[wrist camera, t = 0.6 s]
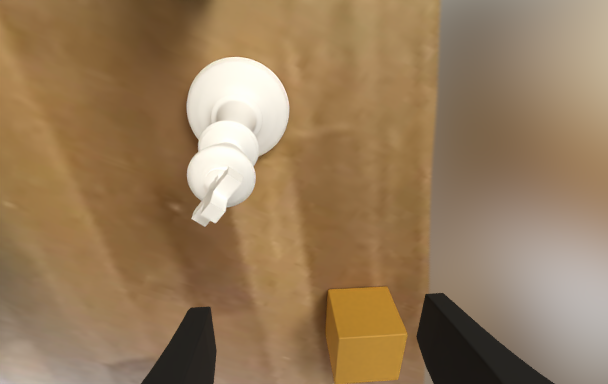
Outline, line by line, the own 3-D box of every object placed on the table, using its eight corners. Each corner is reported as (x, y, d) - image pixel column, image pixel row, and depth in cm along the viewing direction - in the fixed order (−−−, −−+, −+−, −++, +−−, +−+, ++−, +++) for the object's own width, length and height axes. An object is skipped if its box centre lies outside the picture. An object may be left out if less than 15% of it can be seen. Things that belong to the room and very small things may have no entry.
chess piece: (167, 117, 18) (69, 230, 9) (225, 32, 16) (178, 67, 7) (250, 173, 19) (237, 314, 11) (309, 102, 18) (351, 196, 9)
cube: (380, 329, 26) (398, 380, 22) (325, 332, 26) (334, 385, 22) (387, 285, 24) (408, 334, 21) (327, 288, 24) (338, 338, 20)
